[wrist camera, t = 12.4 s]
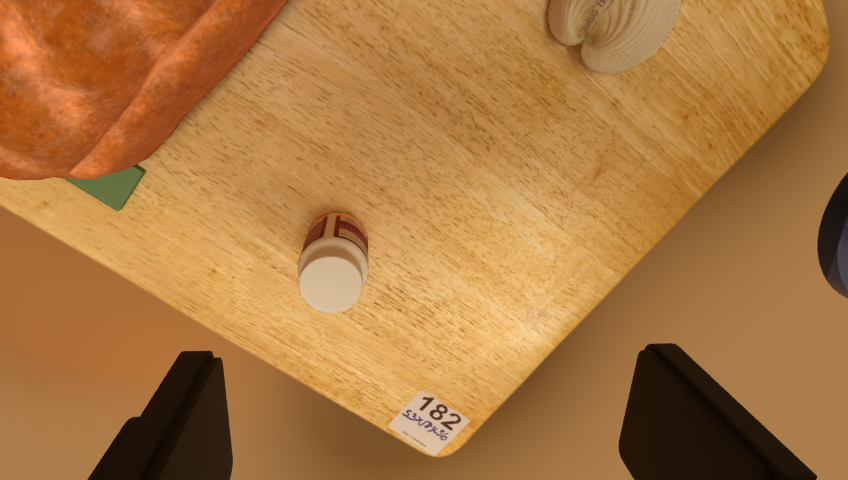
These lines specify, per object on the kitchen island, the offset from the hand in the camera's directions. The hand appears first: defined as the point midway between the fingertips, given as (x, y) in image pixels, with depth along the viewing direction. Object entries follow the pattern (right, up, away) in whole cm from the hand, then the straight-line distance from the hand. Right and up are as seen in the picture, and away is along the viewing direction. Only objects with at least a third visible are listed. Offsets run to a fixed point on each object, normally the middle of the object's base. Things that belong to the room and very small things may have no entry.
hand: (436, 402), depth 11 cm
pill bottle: (-7, +4, +28) cm, 29 cm away
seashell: (+13, +20, +25) cm, 34 cm away
